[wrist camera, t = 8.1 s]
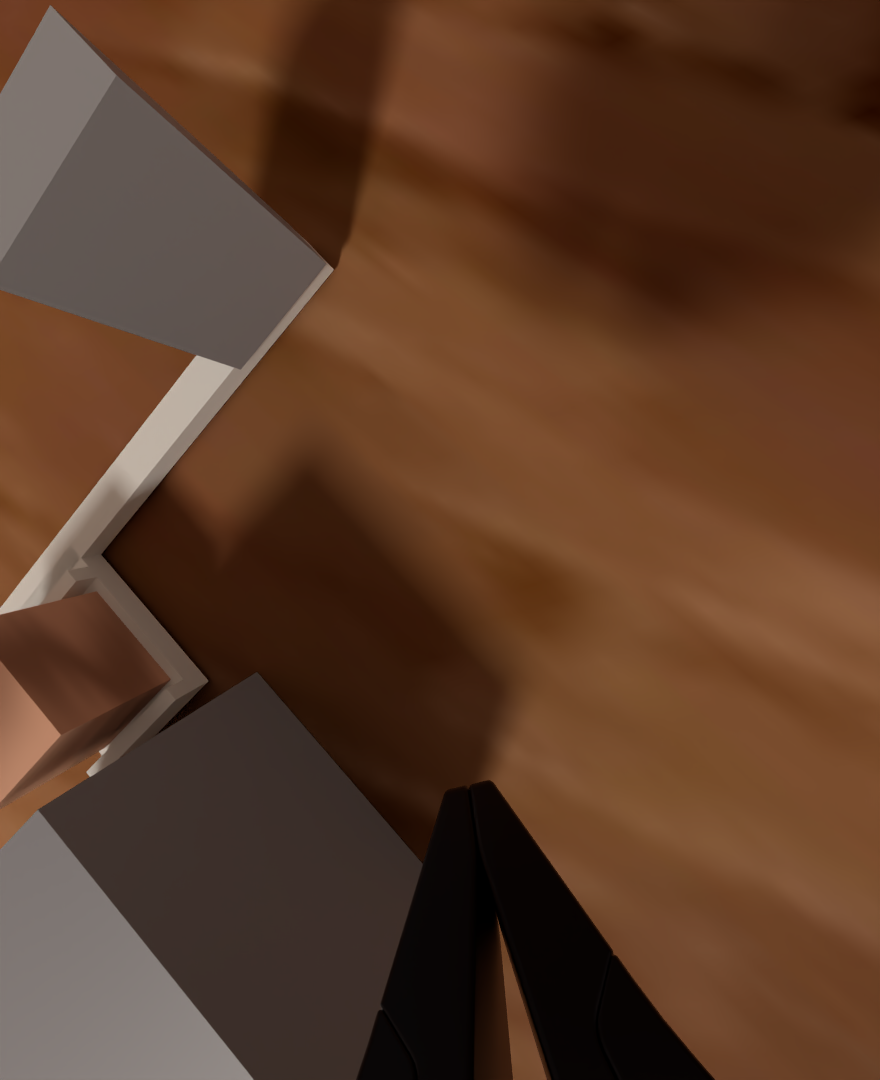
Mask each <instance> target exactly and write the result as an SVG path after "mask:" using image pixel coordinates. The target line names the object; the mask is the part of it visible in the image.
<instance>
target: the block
mask: <svg viewBox="0 0 880 1080" xmlns="http://www.w3.org/2000/svg"><path fill="white" fill-rule="evenodd" d="M170 680H171V679H170V677H169V676H168V675H167V674H166V673H165V671H164V670H163V669H162V668H161V667H160V666H159V664H158V663H157V662H156V661H155V660H154V658H153V657H152V656H151V655H150V654H149V653H148V651H147V650H146V649H145V648H144V647H143V645H142V644H141V643H140V642H139V641H138V640H137V638H136V637H135V636H134V635H133V634H132V632H131V631H130V630H129V629H128V628H127V627H126V625H125V624H124V623H123V622H122V621H121V619H120V618H119V617H118V616H117V615H116V614H115V612H114V611H113V610H112V609H111V608H110V606H109V605H108V604H107V603H106V602H105V601H104V599H103V598H102V597H101V596H100V595H99V593H98V592H97V591H96V592H91V593H87V594H83V595H79V596H75V597H71V598H67V599H63V600H58V601H54V602H50V603H46V604H42V605H38V606H34V607H29V608H25V609H21V610H17V611H13V612H9V613H5V614H1V615H0V809H1V808H3V807H5V806H6V805H8V804H10V803H12V802H13V801H15V800H17V799H18V798H20V797H22V796H23V795H25V794H27V793H29V792H30V791H32V790H34V789H35V788H37V787H39V786H41V785H42V784H44V783H46V782H47V781H49V780H51V779H52V778H54V777H56V776H58V775H59V774H61V773H63V772H64V771H66V770H68V769H70V768H71V767H73V766H75V765H76V764H78V763H80V762H81V761H83V760H85V759H87V758H88V757H90V756H92V755H93V754H95V753H97V752H99V751H100V750H102V749H104V748H105V747H107V746H108V745H109V744H110V743H111V742H112V740H113V739H114V738H115V737H116V736H117V735H118V734H119V733H120V732H121V731H122V730H123V729H124V728H125V727H126V726H127V725H128V724H129V723H130V722H131V720H132V719H133V718H134V717H135V716H136V715H137V714H138V713H139V712H140V711H141V710H142V709H143V708H144V707H145V706H146V705H147V704H148V703H149V702H150V701H151V699H152V698H153V697H154V696H155V695H156V694H157V693H158V692H159V691H160V690H161V689H162V688H163V687H164V686H165V685H166V684H167V683H168V682H169V681H170Z"/></svg>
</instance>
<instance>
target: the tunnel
mask: <svg viewBox="0 0 880 1080" xmlns="http://www.w3.org/2000/svg"><path fill="white" fill-rule="evenodd" d="M422 865H423V864H422V863H421V861H420V860H419V859H418V858H417V857H416V856H415V854H414V853H413V852H412V851H411V850H410V849H409V847H408V846H407V845H406V844H405V843H404V842H403V841H402V839H401V838H400V837H399V836H398V835H397V834H396V832H395V831H394V830H393V829H392V828H391V827H390V825H389V824H388V823H387V822H386V821H385V820H384V819H383V817H382V816H381V815H380V814H379V813H378V812H377V810H376V809H375V808H374V807H373V806H372V805H371V803H370V802H369V801H368V800H367V799H366V798H365V796H364V795H363V794H362V793H361V792H360V791H359V790H358V788H357V787H356V786H355V785H354V784H353V783H352V781H351V780H350V779H349V778H348V777H347V776H346V774H345V773H344V772H343V771H342V770H341V769H340V767H339V766H338V765H337V764H336V763H335V762H334V761H333V759H332V758H331V757H330V756H329V755H328V754H327V752H326V751H325V750H324V749H323V748H322V747H321V745H320V744H319V743H318V742H317V741H316V740H315V739H314V737H313V736H312V735H311V734H310V733H309V732H308V730H307V729H306V728H305V727H304V726H303V725H302V723H301V722H300V721H299V720H298V719H297V718H296V716H295V715H294V714H293V713H292V712H291V711H290V710H289V708H288V707H287V706H286V705H285V704H284V703H283V701H282V700H281V699H280V698H279V697H278V696H277V694H276V693H275V692H274V691H273V690H272V689H271V687H270V686H269V685H268V684H267V683H266V682H265V681H264V679H263V678H262V677H261V676H260V675H259V674H258V672H256V673H254V674H253V675H251V676H250V677H248V678H246V679H245V680H243V681H242V682H240V683H239V684H237V685H235V686H234V687H232V688H231V689H229V690H227V691H226V692H224V693H223V694H221V695H219V696H218V697H216V698H215V699H213V700H212V701H210V702H208V703H207V704H205V705H204V706H202V707H200V708H199V709H197V710H196V711H194V712H192V713H191V714H189V715H188V716H186V717H185V718H183V719H181V720H180V721H178V722H177V723H175V724H173V725H172V726H170V727H169V728H167V729H165V730H164V731H162V732H161V733H159V734H158V735H156V736H154V737H153V738H151V739H150V740H148V741H146V742H145V743H143V744H142V745H140V746H138V747H137V748H135V749H134V750H132V751H131V752H129V753H127V754H126V755H124V756H123V757H121V758H119V759H118V760H116V761H115V762H113V763H111V764H110V765H108V766H107V767H105V768H103V769H102V770H100V771H99V772H97V773H96V774H94V775H92V776H91V777H89V778H88V779H86V780H84V781H83V782H81V783H80V784H78V785H76V786H75V787H73V788H72V789H70V790H69V791H67V792H65V793H64V794H62V795H61V796H59V797H57V798H56V799H54V800H53V801H51V802H49V803H48V804H46V805H45V806H43V807H42V808H40V809H38V810H37V811H36V812H35V813H34V814H33V815H32V817H31V818H30V819H29V820H28V821H27V822H26V823H25V824H24V825H23V826H22V827H21V828H20V829H19V830H18V831H17V832H16V833H15V835H14V836H13V837H12V838H11V839H10V840H9V841H8V842H7V843H6V844H5V845H4V846H3V847H2V848H1V849H0V1080H356V1077H357V1074H358V1071H359V1068H360V1065H361V1062H362V1059H363V1056H364V1053H365V1050H366V1047H367V1044H368V1041H369V1038H370V1035H371V1031H372V1028H373V1025H374V1022H375V1018H376V1015H377V1012H378V1011H379V1010H382V1009H381V1007H380V1003H381V999H382V996H383V993H384V990H385V986H386V983H387V980H388V977H389V973H390V970H391V967H392V964H393V960H394V957H395V954H396V950H397V947H398V944H399V941H400V937H401V934H402V931H403V928H404V924H405V921H406V918H407V914H408V911H409V908H410V905H411V901H412V898H413V895H414V892H415V888H416V885H417V882H418V878H419V875H420V872H421V869H422Z"/></svg>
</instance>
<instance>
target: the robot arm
mask: <svg viewBox="0 0 880 1080" xmlns="http://www.w3.org/2000/svg"><path fill="white" fill-rule="evenodd" d="M469 789H470V790H469ZM497 918H498V919H497ZM498 921H499V924H500V928H501V931H502V935H503V938H504V942H505V945H506V948H507V952H508V955H509V958H510V961H511V964H512V968H513V971H514V974H515V977H516V981H517V984H518V987H519V990H520V994H521V997H522V1000H523V1003H524V1006H525V1010H526V1013H527V1016H528V1019H529V1023H530V1026H531V1029H532V1032H533V1036H534V1039H535V1042H536V1045H537V1049H538V1052H539V1055H540V1058H541V1061H542V1065H543V1068H544V1071H545V1074H546V1078H547V1080H715V1079H714V1078H713V1077H712V1076H711V1074H710V1073H709V1072H708V1071H707V1070H706V1069H705V1068H704V1066H703V1065H702V1064H701V1063H700V1062H699V1061H698V1060H697V1058H696V1057H695V1056H694V1055H693V1054H692V1052H691V1051H690V1050H689V1049H688V1048H687V1046H686V1045H685V1044H684V1043H683V1042H682V1040H681V1039H680V1038H679V1037H678V1036H677V1034H676V1033H675V1032H674V1031H673V1030H672V1028H671V1027H670V1026H669V1025H668V1024H667V1022H666V1021H665V1020H664V1019H663V1018H662V1016H661V1015H660V1014H659V1012H658V1011H657V1010H656V1008H655V1007H654V1006H653V1004H652V1003H651V1002H650V1000H649V999H648V998H647V996H646V995H645V994H644V992H643V991H642V990H641V988H640V987H639V986H638V984H637V983H636V982H635V980H634V979H633V978H632V976H631V975H630V973H629V972H628V971H627V969H626V968H625V966H624V965H623V964H622V962H621V961H620V959H619V958H618V957H617V956H616V955H614V954H613V950H612V949H611V947H610V946H609V944H608V943H607V942H606V940H605V939H604V937H603V936H602V935H601V933H600V932H599V930H598V929H597V928H596V926H595V925H594V923H593V922H592V920H591V919H590V918H589V916H588V915H587V913H586V912H585V911H584V909H583V908H582V906H581V905H580V904H579V902H578V901H577V899H576V898H575V897H574V895H573V894H572V892H571V891H570V890H569V888H568V887H567V885H566V884H565V883H564V881H563V880H562V878H561V877H560V875H559V874H558V873H557V871H556V870H555V868H554V867H553V866H552V864H551V863H550V861H549V860H548V859H547V857H546V856H545V854H544V853H543V852H542V850H541V849H540V847H539V846H538V845H537V843H536V842H535V840H534V839H533V837H532V836H531V835H530V833H529V832H528V830H527V829H526V828H525V826H524V825H523V823H522V822H521V821H520V819H519V818H518V816H517V815H516V814H515V812H514V811H513V809H512V808H511V807H510V805H509V804H508V802H507V801H506V800H505V798H504V797H503V795H502V794H501V792H500V791H499V790H498V788H497V787H496V785H495V784H494V783H493V782H492V781H490V780H487V781H483V782H479V783H475V784H472V785H471V786H470V788H468V787H467V786H462V787H458V788H453V789H449V790H447V791H446V792H445V794H444V797H443V800H442V803H441V806H440V810H439V813H438V816H437V820H436V823H435V826H434V829H433V833H432V836H431V839H430V842H429V846H428V849H427V852H426V856H425V859H424V862H423V865H422V869H421V872H420V875H419V878H418V882H417V885H416V888H415V892H414V895H413V898H412V901H411V905H410V908H409V911H408V914H407V918H406V921H405V924H404V928H403V931H402V934H401V937H400V941H399V944H398V947H397V950H396V954H395V957H394V960H393V964H392V967H391V970H390V973H389V977H388V980H387V983H386V986H385V990H384V993H383V996H382V999H381V1003H380V1007H381V1009H382V1010H379V1011H378V1012H377V1015H376V1018H375V1022H374V1025H373V1028H372V1031H371V1035H370V1038H369V1041H368V1044H367V1047H366V1050H365V1053H364V1056H363V1059H362V1062H361V1065H360V1068H359V1071H358V1074H357V1077H356V1080H513V1076H512V1065H511V1054H510V1043H509V1032H508V1021H507V1009H506V998H505V987H504V976H503V965H502V954H501V943H500V934H499V926H498Z"/></svg>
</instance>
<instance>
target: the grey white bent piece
mask: <svg viewBox="0 0 880 1080" xmlns="http://www.w3.org/2000/svg"><path fill="white" fill-rule="evenodd" d="M333 270H334V269H333V268H332V267H331V266H330V265H329V264H328V263H327V262H326V261H325V260H324V259H323V258H322V257H321V256H320V254H319V253H318V252H317V251H316V250H315V249H314V248H313V247H312V246H311V245H310V244H309V243H308V242H307V241H306V240H305V239H304V238H303V237H302V236H301V235H299V234H298V233H297V232H296V231H295V230H294V229H293V228H292V227H291V226H290V225H289V224H288V223H287V222H286V221H285V220H284V219H283V218H282V217H281V216H279V215H278V214H277V213H276V212H275V211H274V210H273V209H272V208H271V207H270V206H269V205H267V204H266V203H265V202H264V201H263V200H262V199H261V198H260V197H259V196H258V195H257V194H256V193H254V192H253V191H252V190H251V189H250V188H249V187H248V186H247V185H246V184H245V183H244V182H242V181H241V180H240V179H239V178H238V177H237V176H236V175H235V174H234V173H233V172H232V171H230V170H229V169H228V168H227V167H226V166H225V165H224V164H223V163H222V162H221V161H220V160H219V159H217V158H216V157H215V156H214V155H213V154H212V153H211V152H210V151H209V150H208V149H207V148H205V147H204V146H203V145H202V144H201V143H200V142H199V141H198V140H197V139H196V138H195V137H193V136H192V135H191V134H190V133H189V132H188V131H187V130H186V129H185V128H184V127H183V126H181V125H180V124H179V123H178V122H177V121H176V120H175V119H174V118H173V117H172V116H171V115H170V114H168V113H167V112H166V111H165V110H164V109H163V108H162V107H161V106H160V105H159V104H158V103H156V102H155V101H154V100H153V99H152V98H151V97H150V96H149V95H148V94H147V93H146V92H144V91H143V90H142V89H141V88H140V87H139V86H138V85H137V84H136V83H135V82H134V81H132V80H131V79H130V78H129V77H128V76H127V75H126V74H125V73H124V72H123V71H122V70H121V69H119V68H118V67H117V66H116V65H115V64H114V63H113V62H112V61H111V60H110V59H109V58H107V57H106V56H105V55H104V54H103V53H102V52H101V51H100V50H99V49H98V48H97V47H95V46H94V45H93V44H92V43H91V42H90V41H89V40H88V39H87V38H86V37H85V36H83V35H82V34H81V33H80V32H79V31H78V30H77V29H76V28H75V27H74V26H73V25H72V24H70V23H69V22H68V21H67V20H66V19H65V18H64V17H63V16H62V15H61V14H60V13H58V12H57V11H56V10H55V9H54V8H53V7H52V6H51V5H50V7H49V9H48V10H47V12H46V14H45V16H44V17H43V19H42V21H41V23H40V25H39V26H38V28H37V30H36V32H35V33H34V35H33V37H32V39H31V41H30V42H29V44H28V46H27V48H26V49H25V51H24V53H23V55H22V57H21V58H20V60H19V62H18V64H17V65H16V67H15V69H14V71H13V73H12V74H11V76H10V78H9V80H8V81H7V83H6V85H5V87H4V88H3V90H2V92H1V94H0V290H3V291H6V292H9V293H12V294H15V295H18V296H21V297H24V298H27V299H30V300H33V301H36V302H39V303H42V304H45V305H48V306H51V307H54V308H57V309H60V310H63V311H66V312H69V313H72V314H75V315H78V316H81V317H84V318H87V319H90V320H93V321H96V322H99V323H102V324H105V325H108V326H111V327H114V328H117V329H120V330H123V331H126V332H129V333H132V334H135V335H138V336H141V337H144V338H147V339H150V340H153V341H156V342H159V343H162V344H165V345H168V346H171V347H174V348H177V349H180V350H183V351H186V352H189V353H192V354H195V355H197V356H196V357H195V358H194V359H193V361H192V362H191V363H190V365H189V366H188V367H187V368H186V370H185V371H184V372H183V374H182V375H181V376H180V377H179V379H178V380H177V381H176V383H175V384H174V385H173V386H172V388H171V389H170V390H169V392H168V393H167V394H166V395H165V397H164V398H163V399H162V401H161V402H160V403H159V404H158V406H157V407H156V408H155V410H154V411H153V412H152V414H151V415H150V416H149V417H148V419H147V420H146V421H145V423H144V424H143V425H142V426H141V428H140V429H139V430H138V432H137V433H136V434H135V435H134V437H133V438H132V439H131V441H130V442H129V443H128V444H127V446H126V447H125V448H124V450H123V451H122V452H121V453H120V455H119V456H118V457H117V459H116V460H115V461H114V462H113V464H112V465H111V466H110V468H109V469H108V470H107V471H106V473H105V474H104V475H103V477H102V478H101V479H100V480H99V482H98V483H97V484H96V486H95V487H94V488H93V489H92V491H91V492H90V493H89V495H88V496H87V497H86V499H85V500H84V501H83V502H82V504H81V505H80V506H79V508H78V509H77V510H76V511H75V513H74V514H73V515H72V517H71V518H70V519H69V520H68V522H67V523H66V524H65V526H64V527H63V528H62V529H61V531H60V532H59V533H58V535H57V536H56V537H55V538H54V540H53V541H52V542H51V544H50V545H49V546H48V547H47V549H46V550H45V551H44V553H43V554H42V555H41V556H40V558H39V559H38V560H37V562H36V563H35V564H34V565H33V567H32V568H31V569H30V571H29V572H28V573H27V574H26V576H25V577H24V578H23V580H22V581H21V582H20V584H19V585H18V586H17V587H16V589H15V590H14V591H13V593H12V594H11V595H10V596H9V598H8V599H7V600H6V602H5V603H4V604H3V605H2V607H1V608H0V615H1V614H5V613H9V612H13V611H17V610H21V609H25V608H29V607H34V606H38V605H42V604H46V603H50V602H54V601H58V600H63V599H67V598H71V597H75V596H79V595H83V594H87V593H91V592H96V591H97V592H98V593H99V595H100V596H101V597H102V598H103V599H104V601H105V602H106V603H107V604H108V605H109V606H110V608H111V609H112V610H113V611H114V612H115V614H116V615H117V616H118V617H119V618H120V619H121V621H122V622H123V623H124V624H125V625H126V627H127V628H128V629H129V630H130V631H131V632H132V634H133V635H134V636H135V637H136V638H137V640H138V641H139V642H140V643H141V644H142V645H143V647H144V648H145V649H146V650H147V651H148V653H149V654H150V655H151V656H152V657H153V658H154V660H155V661H156V662H157V663H158V664H159V666H160V667H161V668H162V669H163V670H164V671H165V673H166V674H167V675H168V676H169V677H170V679H171V680H170V681H169V682H168V683H167V684H166V685H165V686H164V687H163V688H162V689H161V690H160V691H159V692H158V693H157V694H156V695H155V696H154V697H153V698H152V699H151V701H150V702H149V703H148V704H147V705H146V706H145V707H144V708H143V709H142V710H141V711H140V712H139V713H138V714H137V715H136V716H135V717H134V718H133V719H132V720H131V722H130V723H129V724H128V725H127V726H126V727H125V728H124V729H123V730H122V731H121V732H120V733H119V734H118V735H117V736H116V737H115V738H114V739H113V740H112V742H111V743H110V744H109V745H108V746H107V747H105V748H104V749H102V750H100V751H99V752H100V754H101V755H102V756H101V757H100V758H99V759H98V760H97V762H96V763H95V764H94V765H93V766H92V767H91V768H90V769H89V770H88V771H87V772H86V773H87V774H88V775H89V776H90V777H91V776H92V775H94V774H96V773H97V772H99V771H100V770H102V769H103V768H105V767H107V766H108V765H110V764H111V763H113V762H115V761H116V760H118V759H119V758H121V757H123V756H124V755H126V754H127V753H129V752H131V751H132V750H134V749H135V748H137V747H138V746H140V745H142V744H143V743H145V742H146V741H148V740H150V739H151V738H153V737H154V736H155V735H156V734H157V733H158V732H159V731H160V730H161V729H162V728H163V727H164V726H165V725H166V724H167V723H168V722H169V721H170V720H171V719H172V718H173V717H174V716H175V715H176V714H177V713H178V712H179V711H180V710H181V709H182V708H183V707H184V706H185V705H186V704H187V703H188V702H189V701H190V700H191V699H192V698H193V696H194V695H195V694H196V693H197V692H198V691H199V690H200V689H201V688H202V687H203V686H204V685H205V684H206V683H207V682H208V680H207V678H206V677H205V676H204V675H203V674H202V673H201V671H200V670H199V669H198V668H197V667H196V665H195V664H194V663H193V662H192V661H191V660H190V658H189V657H188V656H187V655H186V654H185V653H184V651H183V650H182V649H181V648H180V647H179V646H178V644H177V643H176V642H175V641H174V640H173V638H172V637H171V636H170V635H169V634H168V633H167V631H166V630H165V629H164V628H163V627H162V626H161V624H160V623H159V622H158V621H157V620H156V619H155V617H154V616H153V615H152V614H151V613H150V611H149V610H148V609H147V608H146V607H145V606H144V604H143V603H142V602H141V601H140V600H139V599H138V597H137V596H136V595H135V594H134V593H133V592H132V590H131V589H130V588H129V587H128V586H127V584H126V583H125V582H124V581H123V580H122V579H121V577H120V576H119V575H118V574H117V573H116V572H115V570H114V569H113V568H112V567H111V566H110V565H109V563H108V562H107V561H106V560H105V559H104V557H103V556H102V555H101V554H102V553H103V551H104V550H105V549H106V548H107V547H108V545H109V544H110V543H111V542H112V540H113V539H114V538H115V537H116V536H117V534H118V533H119V532H120V531H121V529H122V528H123V527H124V526H125V525H126V523H127V522H128V521H129V520H130V518H131V517H132V516H133V515H134V514H135V512H136V511H137V510H138V509H139V507H140V506H141V505H142V504H143V503H144V501H145V500H146V499H147V498H148V496H149V495H150V494H151V493H152V492H153V490H154V489H155V488H156V487H157V485H158V484H159V483H160V482H161V481H162V479H163V478H164V477H165V476H166V474H167V473H168V472H169V471H170V470H171V468H172V467H173V466H174V465H175V463H176V462H177V461H178V460H179V459H180V457H181V456H182V455H183V454H184V452H185V451H186V450H187V449H188V448H189V446H190V445H191V444H192V443H193V441H194V440H195V439H196V438H197V437H198V435H199V434H200V433H201V432H202V430H203V429H204V428H205V427H206V426H207V424H208V423H209V422H210V421H211V419H212V418H213V417H214V416H215V415H216V413H217V412H218V411H219V410H220V408H221V407H222V406H223V405H224V404H225V402H226V401H227V400H228V399H229V397H230V396H231V395H232V394H233V393H234V391H235V390H236V389H237V388H238V386H239V385H240V384H241V383H242V382H243V380H244V379H245V378H246V377H247V375H248V374H249V373H250V372H251V371H252V369H253V368H254V367H255V366H256V364H257V363H258V362H259V361H260V360H261V358H262V357H263V356H264V355H265V353H266V352H267V351H268V350H269V349H270V347H271V346H272V345H273V344H274V342H275V341H276V340H277V339H278V338H279V336H280V335H281V334H282V333H283V331H284V330H285V329H286V328H287V327H288V325H289V324H290V323H291V322H292V320H293V319H294V318H295V317H296V316H297V314H298V313H299V312H300V311H301V309H302V308H303V307H304V306H305V305H306V303H307V302H308V301H309V300H310V298H311V297H312V296H313V295H314V294H315V292H316V291H317V290H318V289H319V287H320V286H321V285H322V284H323V283H324V281H325V280H326V279H327V278H328V276H329V275H330V274H331V273H332V272H333Z"/></svg>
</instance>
